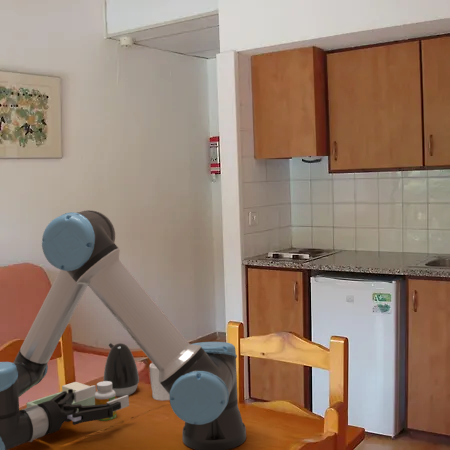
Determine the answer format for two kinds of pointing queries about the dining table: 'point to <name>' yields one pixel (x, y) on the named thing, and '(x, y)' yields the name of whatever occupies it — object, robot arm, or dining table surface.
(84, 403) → the tray
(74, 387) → the off-white upright cuboid
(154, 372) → the white cup
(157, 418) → the dining table surface
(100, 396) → the supplement bottle
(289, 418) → the dining table surface
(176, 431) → the dining table surface
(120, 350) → the pump dispenser
